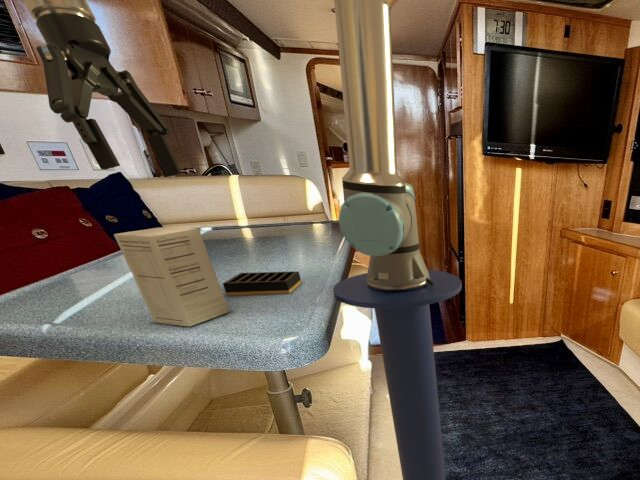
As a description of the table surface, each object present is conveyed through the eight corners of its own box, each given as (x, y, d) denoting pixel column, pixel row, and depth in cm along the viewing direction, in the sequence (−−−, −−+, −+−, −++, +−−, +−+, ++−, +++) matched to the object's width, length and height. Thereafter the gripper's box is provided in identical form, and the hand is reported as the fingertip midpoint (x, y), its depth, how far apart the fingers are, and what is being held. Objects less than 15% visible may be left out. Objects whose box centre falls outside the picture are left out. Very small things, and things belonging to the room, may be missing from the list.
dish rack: (301, 282, 104) (298, 271, 103) (289, 293, 96) (286, 281, 94) (244, 284, 102) (240, 272, 101) (226, 295, 94) (222, 283, 92)
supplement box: (231, 312, 84) (201, 228, 76) (190, 327, 76) (151, 235, 68) (196, 308, 86) (163, 225, 78) (152, 322, 78) (111, 232, 70)
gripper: (116, 57, 74) (178, 181, 82) (-57, -13, 51) (53, 169, 59) (152, 46, 73) (211, 172, 82) (-6, -29, 50) (99, 157, 59)
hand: (145, 171), depth 70 cm, fingers open, 13 cm apart
